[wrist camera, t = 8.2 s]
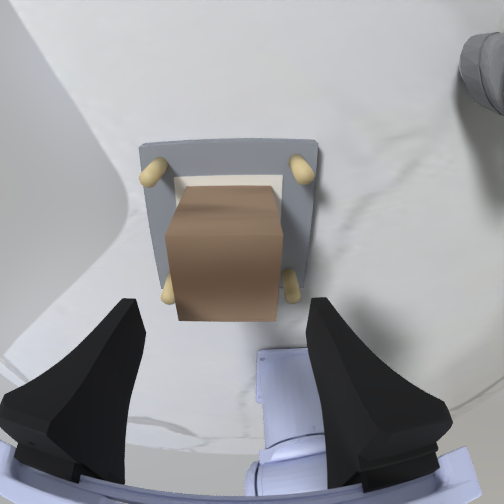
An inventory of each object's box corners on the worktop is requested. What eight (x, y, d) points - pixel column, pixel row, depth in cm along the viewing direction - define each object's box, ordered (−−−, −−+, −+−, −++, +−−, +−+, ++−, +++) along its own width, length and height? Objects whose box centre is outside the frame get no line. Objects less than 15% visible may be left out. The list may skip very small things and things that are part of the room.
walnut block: (267, 256, 21) (275, 321, 16) (192, 257, 20) (178, 320, 15) (271, 185, 18) (283, 235, 13) (186, 186, 18) (164, 235, 13)
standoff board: (301, 279, 23) (309, 310, 20) (163, 280, 23) (154, 312, 20) (314, 140, 18) (329, 154, 15) (143, 143, 17) (124, 158, 14)
